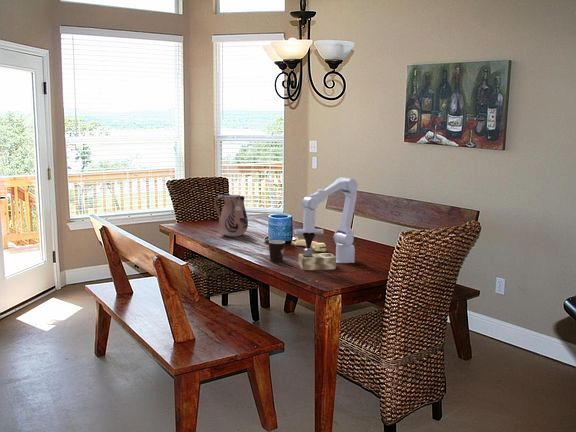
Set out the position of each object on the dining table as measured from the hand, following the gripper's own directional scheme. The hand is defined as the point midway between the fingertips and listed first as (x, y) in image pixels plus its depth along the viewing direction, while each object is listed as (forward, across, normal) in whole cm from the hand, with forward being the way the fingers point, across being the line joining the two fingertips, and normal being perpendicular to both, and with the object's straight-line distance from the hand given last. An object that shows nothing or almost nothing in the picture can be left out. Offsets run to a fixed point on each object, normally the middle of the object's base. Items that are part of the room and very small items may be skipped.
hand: (308, 247), depth 294 cm
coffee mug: (+10, -12, +16) cm, 22 cm away
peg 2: (+10, +10, 0) cm, 14 cm away
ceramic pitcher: (+10, -30, +80) cm, 86 cm away
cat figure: (+11, +11, +40) cm, 43 cm away
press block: (+10, +5, 0) cm, 11 cm away
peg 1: (+7, 0, 0) cm, 7 cm away
